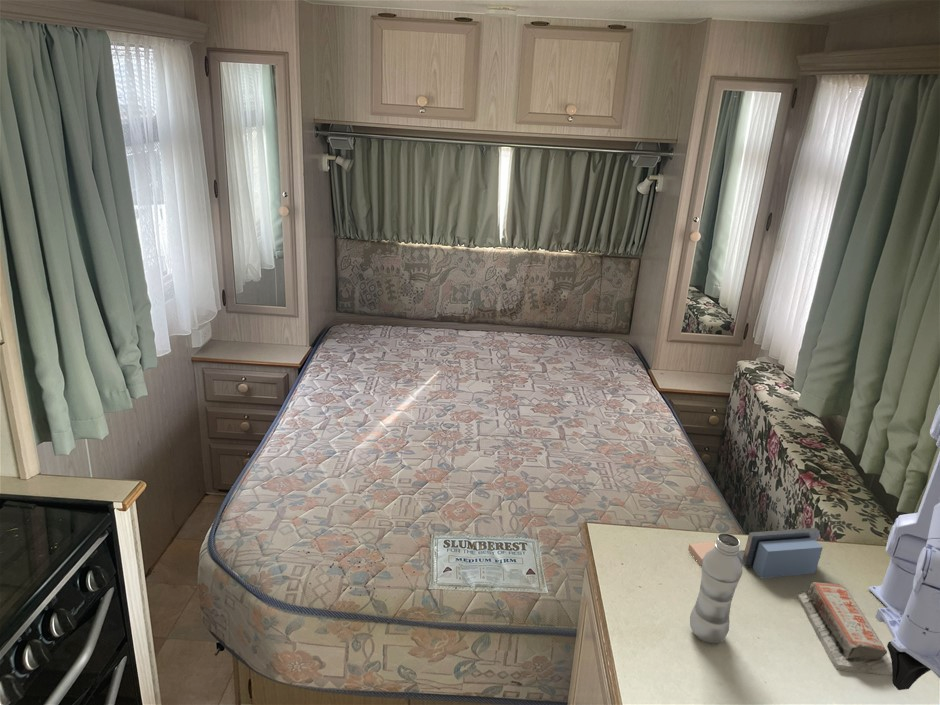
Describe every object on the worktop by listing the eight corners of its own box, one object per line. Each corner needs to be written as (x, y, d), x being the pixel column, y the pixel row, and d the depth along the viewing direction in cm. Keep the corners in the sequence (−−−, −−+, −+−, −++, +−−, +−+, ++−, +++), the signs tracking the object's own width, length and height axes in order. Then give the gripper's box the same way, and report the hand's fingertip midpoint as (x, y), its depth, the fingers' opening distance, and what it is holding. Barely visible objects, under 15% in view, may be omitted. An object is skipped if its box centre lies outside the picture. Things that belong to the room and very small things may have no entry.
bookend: (798, 548, 145) (806, 518, 142) (810, 561, 141) (819, 531, 138) (733, 553, 142) (741, 523, 139) (744, 567, 138) (752, 536, 136)
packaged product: (800, 577, 130) (853, 581, 129) (794, 597, 131) (847, 602, 131) (842, 650, 113) (904, 655, 113) (835, 672, 115) (895, 678, 114)
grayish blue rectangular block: (805, 564, 141) (813, 537, 138) (814, 573, 138) (822, 547, 135) (752, 568, 138) (759, 541, 136) (760, 578, 136) (768, 551, 133)
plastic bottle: (701, 651, 117) (724, 555, 109) (680, 622, 123) (700, 529, 115) (734, 645, 118) (758, 550, 111) (711, 617, 124) (733, 525, 117)
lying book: (722, 548, 144) (724, 540, 144) (735, 563, 140) (737, 555, 139) (687, 551, 143) (689, 543, 142) (700, 567, 138) (701, 559, 137)
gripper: (869, 588, 110) (847, 653, 115) (942, 658, 97) (914, 728, 102) (907, 584, 111) (883, 649, 116) (984, 653, 98) (954, 723, 103)
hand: (900, 686), depth 109 cm, fingers closed
